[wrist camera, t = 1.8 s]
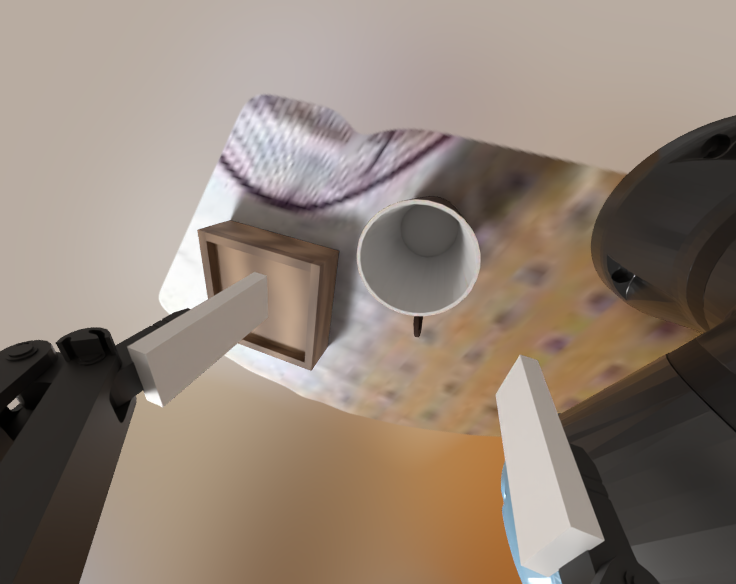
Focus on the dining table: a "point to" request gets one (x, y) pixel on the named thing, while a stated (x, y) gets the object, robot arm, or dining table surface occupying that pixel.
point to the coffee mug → (418, 257)
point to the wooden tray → (276, 286)
